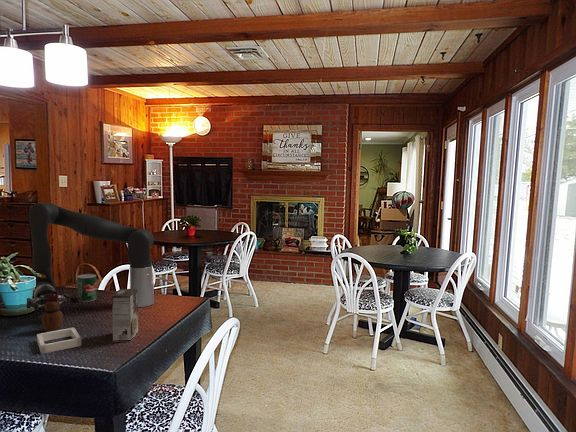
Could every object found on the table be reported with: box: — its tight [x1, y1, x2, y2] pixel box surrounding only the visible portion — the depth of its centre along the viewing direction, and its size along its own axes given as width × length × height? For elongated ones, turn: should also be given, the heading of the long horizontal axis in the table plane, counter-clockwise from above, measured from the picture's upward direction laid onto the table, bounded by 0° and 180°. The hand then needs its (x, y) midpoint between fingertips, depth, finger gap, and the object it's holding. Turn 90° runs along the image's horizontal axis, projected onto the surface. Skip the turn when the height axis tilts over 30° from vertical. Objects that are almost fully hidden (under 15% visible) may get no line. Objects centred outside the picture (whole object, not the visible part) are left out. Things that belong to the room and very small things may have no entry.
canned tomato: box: [76, 273, 97, 303], centre depth 185 cm, size 8×8×11 cm
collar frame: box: [36, 327, 82, 355], centre depth 136 cm, size 11×12×2 cm
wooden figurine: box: [41, 289, 64, 332], centre depth 146 cm, size 7×6×15 cm
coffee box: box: [111, 288, 139, 342], centre depth 143 cm, size 9×6×16 cm
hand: (50, 305), depth 149 cm, fingers open, 8 cm apart
